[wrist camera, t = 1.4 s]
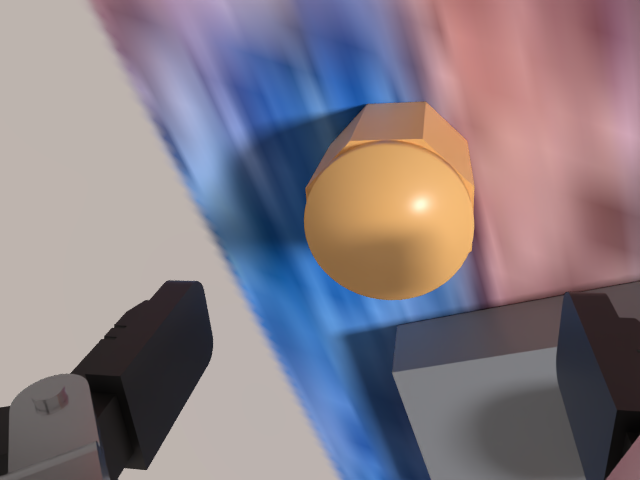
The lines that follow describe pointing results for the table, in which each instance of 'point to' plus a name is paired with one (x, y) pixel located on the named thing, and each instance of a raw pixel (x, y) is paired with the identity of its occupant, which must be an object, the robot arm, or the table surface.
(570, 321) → the robot arm
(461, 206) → the orange wire cap
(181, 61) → the table surface
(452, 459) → the plate
